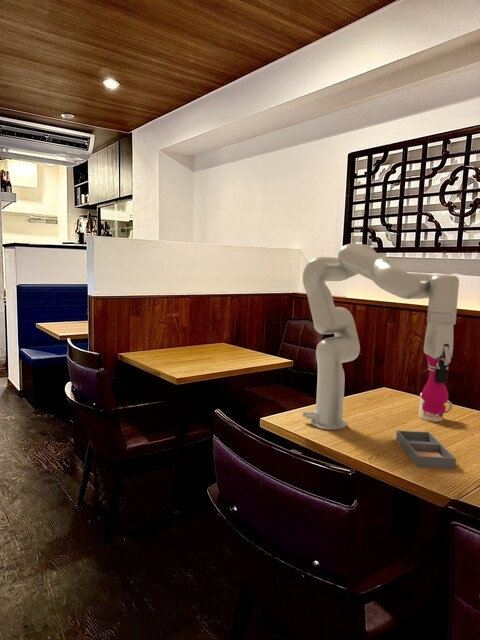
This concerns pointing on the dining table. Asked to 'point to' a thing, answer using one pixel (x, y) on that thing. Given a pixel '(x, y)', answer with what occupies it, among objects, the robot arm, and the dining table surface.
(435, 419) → the teacup with lid
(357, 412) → the dining table surface
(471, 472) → the dining table surface
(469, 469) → the dining table surface
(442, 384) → the pepper mill
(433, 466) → the tray
